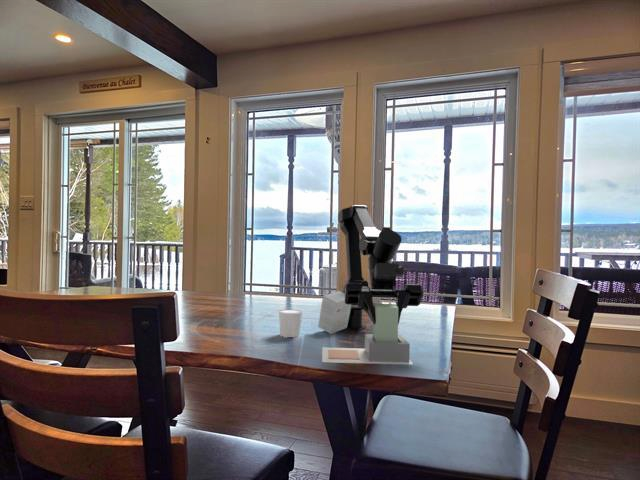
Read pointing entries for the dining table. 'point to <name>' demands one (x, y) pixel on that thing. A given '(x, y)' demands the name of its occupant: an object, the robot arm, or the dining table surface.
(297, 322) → the white cup
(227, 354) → the dining table surface
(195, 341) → the dining table surface
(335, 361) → the white board with socket
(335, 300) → the small box
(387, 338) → the plug
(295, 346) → the dining table surface
